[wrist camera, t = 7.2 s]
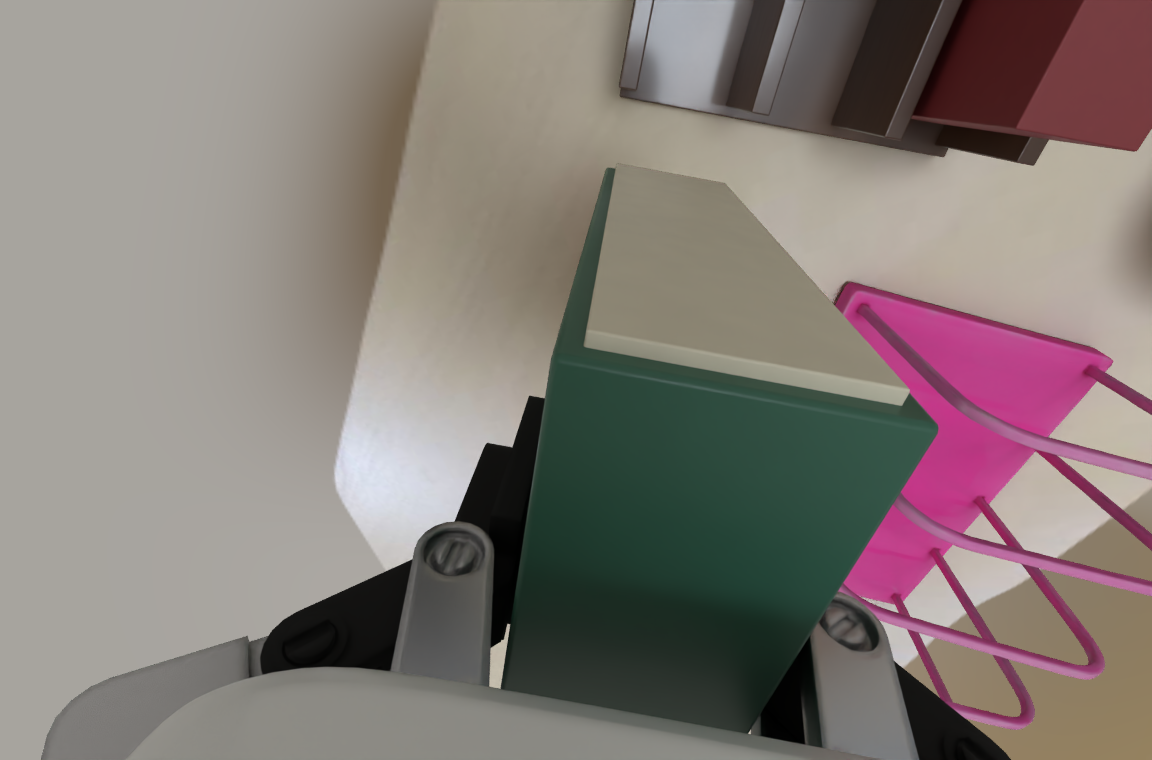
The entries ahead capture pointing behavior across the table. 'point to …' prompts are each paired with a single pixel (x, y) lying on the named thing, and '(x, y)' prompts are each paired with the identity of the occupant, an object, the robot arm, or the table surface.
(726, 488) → the green book
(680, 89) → the book rack
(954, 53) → the burgundy book
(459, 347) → the table surface
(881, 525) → the file sorter
